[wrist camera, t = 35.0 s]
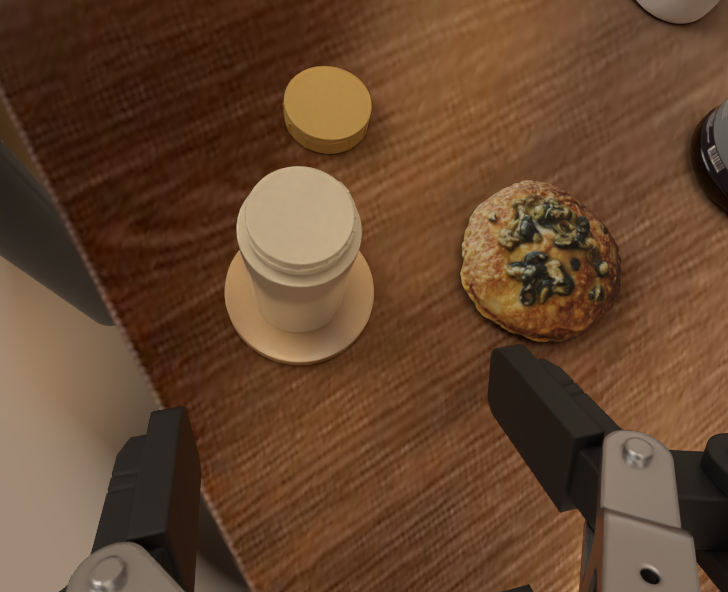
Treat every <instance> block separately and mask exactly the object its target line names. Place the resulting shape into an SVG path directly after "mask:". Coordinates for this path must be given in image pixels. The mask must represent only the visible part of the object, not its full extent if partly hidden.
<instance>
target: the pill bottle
mask: <svg viewBox="0 0 728 592" xmlns="http://www.w3.org/2000/svg"><path fill="white" fill-rule="evenodd" d="M636 1H637V2H638V3H639V4H640V5H641V6H642V7H643V8H644V9H645V10H646V11H648V12H649V13H650V14H652V15H654V16H655V17H657V18H659V19H662V20H664V21H667V22H671V23H679V24H684V23H690V22H694V21H696V20H698V19H700V18H702V17H703V16H704V15H706V14H707V13H708V12H709V11H710V10H711V9H712V8H713V7H714V6H715V5H716V4H717V3H718V2H719V1H720V0H636Z"/></svg>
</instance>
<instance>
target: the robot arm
mask: <svg viewBox="0 0 728 592" xmlns="http://www.w3.org/2000/svg"><path fill="white" fill-rule="evenodd" d="M488 401H489V406H490V409H491V412H492V414H493V416H494V417H495V419H496V420H497V422H498V423H499V425H500V426H501V427H502V429H503V430H504V432H505V433H506V435H507V436H508V438H509V439H510V441H511V442H512V443H513V445H514V446H515V448H516V449H517V451H518V452H519V454H520V455H521V457H522V458H523V459H524V461H525V462H526V464H527V465H528V467H529V468H530V470H531V471H532V472H533V474H534V475H535V477H536V478H537V480H538V481H539V483H540V484H541V486H542V487H543V488H544V490H545V491H546V493H547V494H548V496H549V497H550V499H551V500H552V501H553V503H554V504H555V506H556V507H557V509H558V510H559V512H560V513H561V512H565V511H569V510H573V509H576V508H578V510H579V511H580V513H581V514H582V515H583V517H584V518H585V523H584V530H583V543H582V557H581V570H580V584H579V592H700V584H699V577H698V569H697V563H698V564H699V566H700V567H701V568H702V569H703V570H704V572H705V573H706V574H707V575H708V577H709V578H710V579H711V580H712V582H713V583H714V584H715V585H716V586H717V588H718V589H719V590H720V591H721V592H728V433H722V434H717V435H714V436H712V437H711V438H710V439H709V440H708V442H707V445H706V447H705V450H704V452H700V451H679V450H668V449H667V448H666V447H665V446H664V445H663V444H662V443H661V442H660V441H658V440H657V439H655V438H653V437H651V436H649V435H647V434H644V433H641V432H638V431H632V430H622V429H621V428H620V427H619V426H618V425H617V424H616V423H615V422H614V421H613V420H612V419H611V418H610V417H609V416H608V415H607V414H606V413H605V412H604V411H603V410H602V409H601V408H600V407H599V406H598V405H597V404H596V403H595V402H594V401H593V400H592V399H591V398H590V397H589V396H588V395H587V394H586V393H585V394H584V392H583V390H582V389H581V388H580V387H579V386H578V385H577V384H576V383H574V382H573V380H572V379H571V378H570V377H569V376H568V375H567V374H566V373H565V372H564V371H563V370H562V369H561V368H560V367H558V366H556V365H554V364H553V363H551V362H549V361H547V360H545V359H538V360H537V359H536V358H535V356H534V355H533V354H532V353H531V352H530V351H529V350H528V349H527V348H526V347H525V346H524V345H522V344H516V345H511V346H505V347H500V348H495V349H493V351H492V353H491V362H490V374H489V385H488ZM200 486H201V466H200V458H199V453H198V449H197V446H196V442H195V438H194V435H193V431H192V427H191V424H190V420H189V416H188V413H187V410H186V408H185V406H180V407H174V408H169V409H163V410H158V411H153V412H152V413H151V415H150V419H149V424H148V429H147V434H146V435H141V436H136V437H131V438H130V439H129V440H128V441H127V443H126V444H125V445H124V447H123V448H122V449H121V451H120V452H119V453H118V455H117V457H116V461H115V464H114V468H113V472H112V478H111V480H110V483H109V487H108V493H107V495H106V498H105V502H104V506H103V510H102V514H101V518H100V521H99V525H98V529H97V533H96V537H95V541H94V545H93V548H92V552H91V554H90V556H89V557H88V558H86V559H85V560H84V561H83V562H82V563H81V564H80V565H79V566H78V568H77V569H76V570H75V571H74V573H73V575H72V576H71V578H70V580H69V583H68V585H67V586H66V587H65V588H64V589H62V590H61V591H59V592H194V584H195V568H196V551H197V535H198V519H199V503H200ZM503 592H533V590H532V588H531V587H530V585H525V586H521V587H518V588H514V589H511V590H507V591H503Z"/></svg>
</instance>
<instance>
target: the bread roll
mask: <svg viewBox="0 0 728 592" xmlns="http://www.w3.org/2000/svg"><path fill="white" fill-rule="evenodd" d="M462 257H463V261H464V262H463V266H462V269H461V272H460V275H461V279H462V285H463V287H464V289H465V291H466V292H467V293H468V295H469V297H470V299H471V300H473V301H474V303H475V305H476V309H477V310H478V311H479V312H480V313H481V314H482V316H484V317H485V318H488V319H490V320H492V321H494V322H495V323H496V324H498V325H500V326H501V327H502V328H504V329H506V330H507V331H509V332H510V333H515V334H519V335H522V336H524V337H525V338H528V339H531V340H533V341H538V342H547V341H554V342H562V341H566V340H568V339H570V338H573V337H575V336H578V335H580V334H582V333H584V332H585V331H587V330H589V329H590V328H592V327H594V326H595V325H597V324H598V323H599V322H600V320H601V319H602V318H603V317H604V316H605V315H606V313H607V312H608V311H609V310H610V309H611V308H612V306H613V304H614V302H615V301H616V299H617V297H618V294H619V287H620V274H621V266H620V265H621V258H620V256H619V248H618V246H617V244H616V242H615V241H614V239H613V237H612V236H611V234H610V232H609V231H608V229H607V228H606V226H605V225H604V224H603V223H601V221H600V220H599V219H598V218H597V217H596V216H595V215H593V214H592V213H591V212H590V210H589V209H588V208H586V207H585V206H584V205H583V204H581V203H580V202H579V201H578V200H577V199H575V198H574V197H572V196H571V194H570V193H569V192H567V191H564V190H562V189H561V188H560V187H559V186H553V185H550V184H548V183H543V182H539V181H532V180H527V181H521V182H520V183H517V184H513V185H512V186H510V187H507V188H504V189H502V190H501V191H499V192H498V193H496V194H494V195H493V196H491V197H490V198H489V199H487V200H486V201H484V202H483V203H481V204H480V205H479V206H478V207H477V208H476V209H475V211H474V212H473V214H472V216H471V217H470V218H469V223H468V228H467V229H466V230H465V235H464V242H463V243H462Z"/></svg>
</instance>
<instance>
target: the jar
mask: <svg viewBox="0 0 728 592" xmlns="http://www.w3.org/2000/svg"><path fill="white" fill-rule="evenodd" d="M236 234H237V240H238V245H239V249H240V253H241V256H242V260H243V264H244V268H245V272H246V276H247V280H248V284H249V288H250V292H251V296H252V299H253V303H254V305H255V307H256V309H257V311H258V312H259V314H260V315H261V316H262V317H263V319H265V320H266V321H267V322H268V323H269V324H271V325H272V326H274V327H276V328H278V329H281V330H284V331H287V332H294V333H302V332H309V331H312V330H316V329H318V328H320V327H322V326H323V325H325V324H327V323H328V322H329V321H330V320H331V319H332V318H333V317H334V316H335V315H336V313H337V312H338V311H339V309H340V307H341V304H342V302H343V299H344V295H345V292H346V289H347V286H348V283H349V280H350V276H351V273H352V270H353V267H354V264H355V261H356V257H357V254H358V251H359V248H360V244H361V239H362V225H361V220H360V216H359V213H358V211H357V209H356V207H355V203H354V201H353V199H352V197H351V195H350V192H349V190H348V189H347V188H346V187H345V186H344V185H343V184H342V183H341V181H340V182H338V181H337V180H336V179H334V178H333V177H332V176H330V175H329V174H327V173H325V172H323V171H320V170H317V169H314V168H310V167H302V166H294V167H287V168H283V169H279V170H277V171H274V172H272V173H270V174H269V175H267V176H266V177H264V178H263V179H262V180H261V181H260V182H258V184H257V185H256V186H255V187H254V188H253V190H252V192H251V193H250V195H249V196H248V197H247V198H246V200H245V201H244V203H243V205H242V207H241V209H240V211H239V215H238V218H237V225H236Z"/></svg>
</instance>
